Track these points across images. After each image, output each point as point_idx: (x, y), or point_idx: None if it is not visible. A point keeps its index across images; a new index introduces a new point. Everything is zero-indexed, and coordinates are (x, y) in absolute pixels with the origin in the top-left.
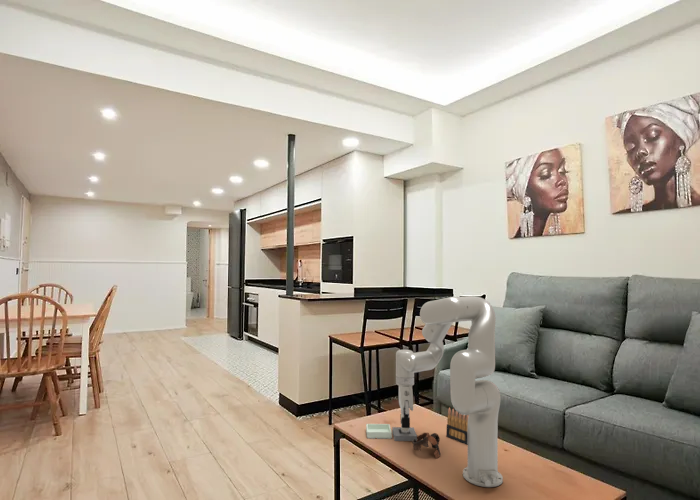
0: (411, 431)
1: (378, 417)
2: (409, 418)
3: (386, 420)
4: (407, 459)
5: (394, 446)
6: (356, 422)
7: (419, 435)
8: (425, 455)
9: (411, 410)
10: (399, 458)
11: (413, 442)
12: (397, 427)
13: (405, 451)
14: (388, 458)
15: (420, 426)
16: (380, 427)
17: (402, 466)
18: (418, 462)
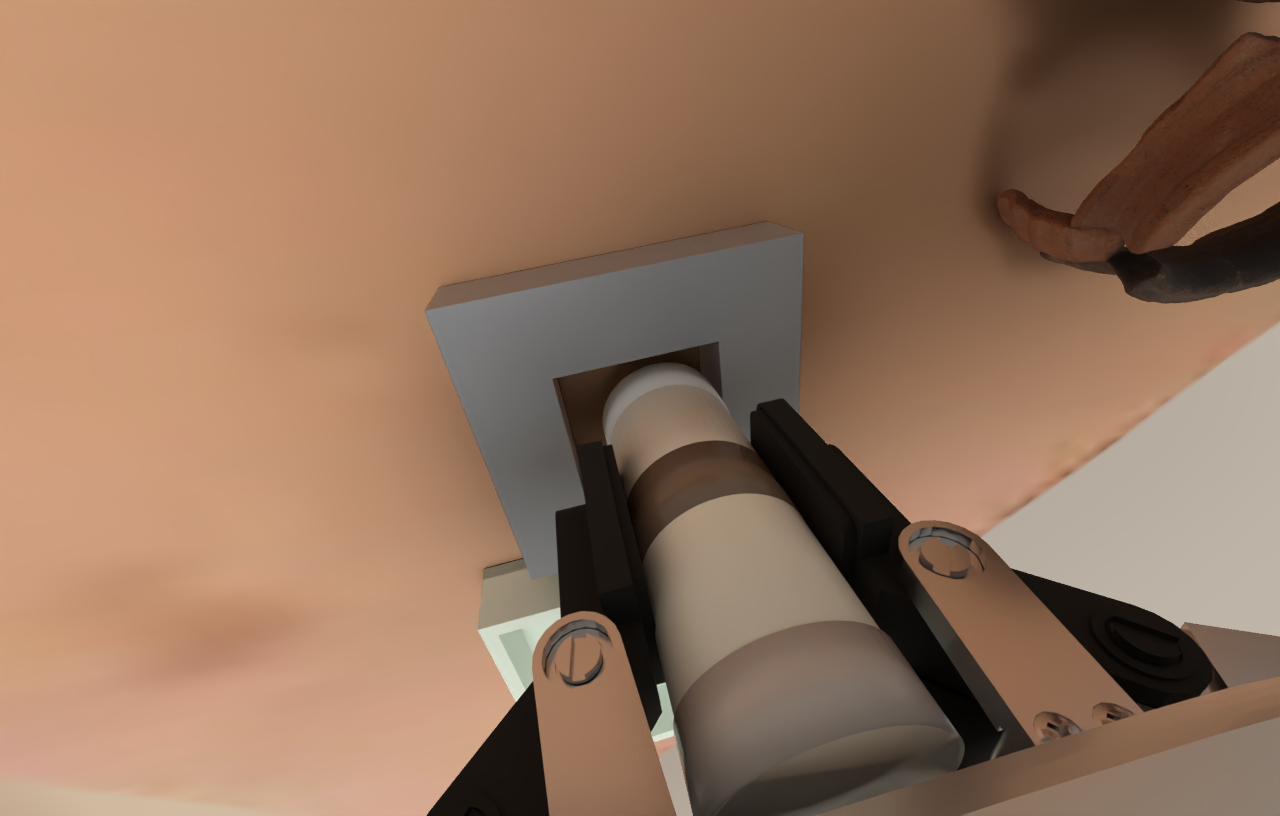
0: (625, 333)
1: (108, 741)
2: (881, 510)
3: (153, 661)
4: (1167, 310)
5: (893, 453)
6: (405, 802)
7: (1216, 203)
8: (1170, 101)
9: (1259, 701)
10: (1123, 379)
11: (1231, 289)
12: (520, 529)
13: (1014, 343)
14: (1092, 457)
15: (21, 154)
16: (526, 659)
17: (1252, 340)
18: (1266, 196)
